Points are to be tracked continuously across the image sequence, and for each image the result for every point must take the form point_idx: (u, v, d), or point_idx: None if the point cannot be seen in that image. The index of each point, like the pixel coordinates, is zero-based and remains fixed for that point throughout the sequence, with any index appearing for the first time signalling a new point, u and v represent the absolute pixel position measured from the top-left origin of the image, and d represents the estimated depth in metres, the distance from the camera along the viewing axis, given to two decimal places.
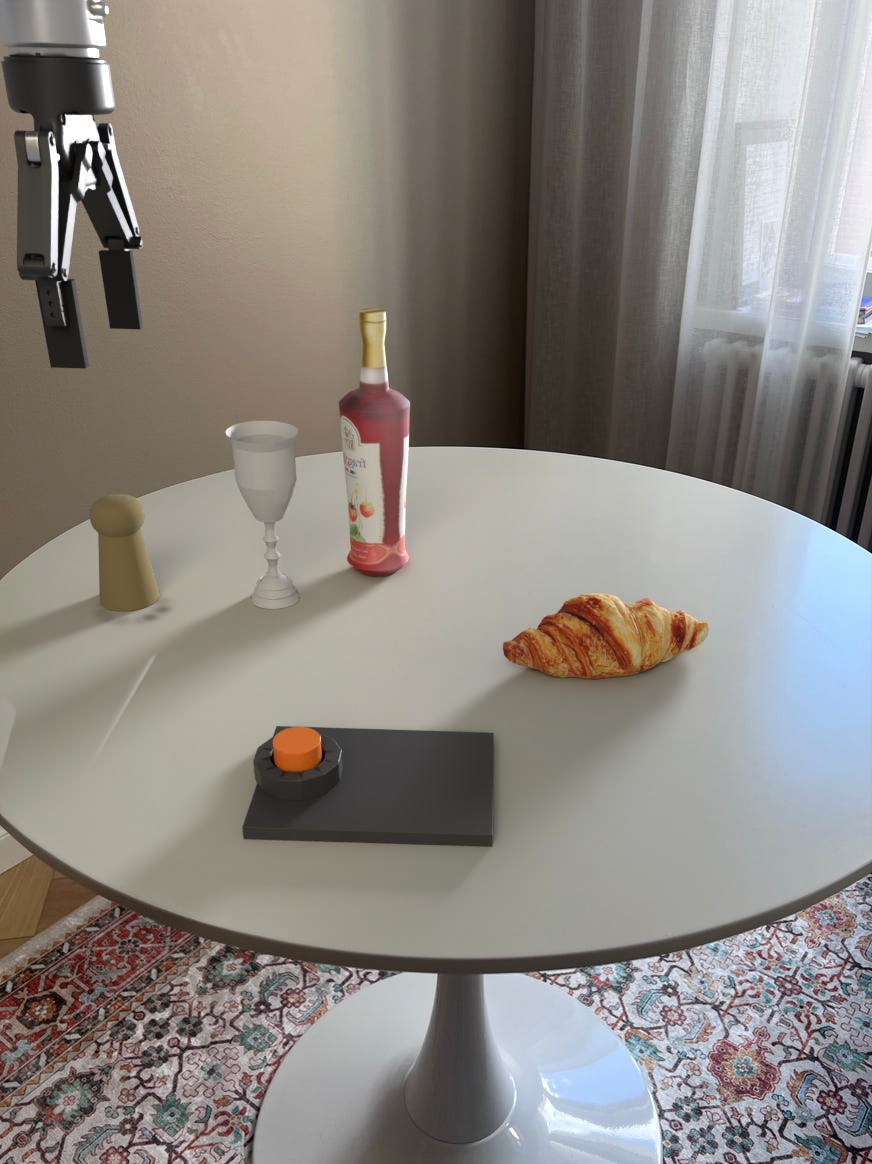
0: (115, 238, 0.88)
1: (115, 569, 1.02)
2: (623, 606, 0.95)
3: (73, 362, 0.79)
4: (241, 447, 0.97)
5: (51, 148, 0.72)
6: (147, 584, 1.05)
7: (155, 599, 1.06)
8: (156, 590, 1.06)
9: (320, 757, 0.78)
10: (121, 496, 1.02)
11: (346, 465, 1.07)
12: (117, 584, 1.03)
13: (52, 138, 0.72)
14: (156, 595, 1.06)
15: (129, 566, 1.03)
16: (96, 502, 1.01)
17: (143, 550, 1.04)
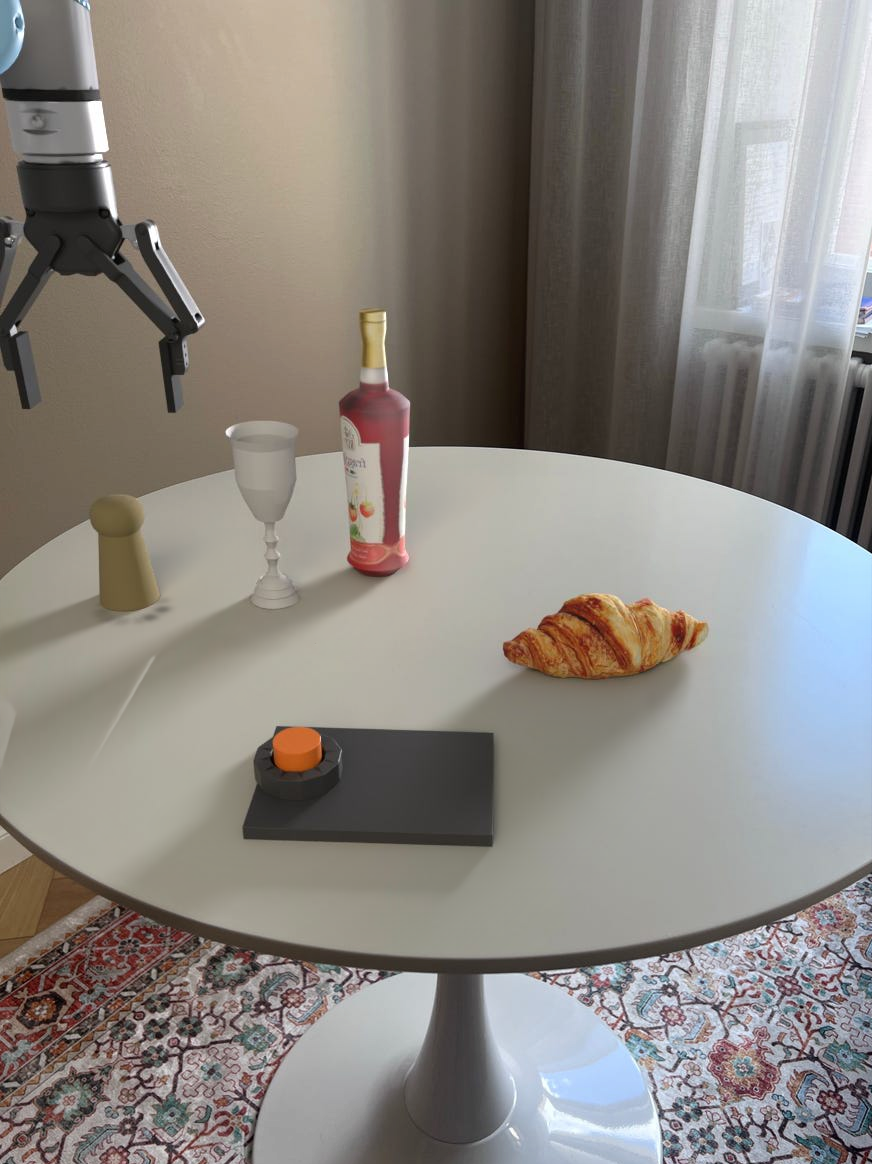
0: None
1: (115, 569, 1.02)
2: (623, 606, 0.95)
3: None
4: (241, 447, 0.97)
5: None
6: (147, 584, 1.05)
7: (155, 599, 1.06)
8: (156, 590, 1.06)
9: (320, 757, 0.78)
10: (121, 496, 1.02)
11: (346, 465, 1.07)
12: (117, 584, 1.03)
13: None
14: (156, 595, 1.06)
15: (129, 566, 1.03)
16: (96, 502, 1.01)
17: (143, 550, 1.04)
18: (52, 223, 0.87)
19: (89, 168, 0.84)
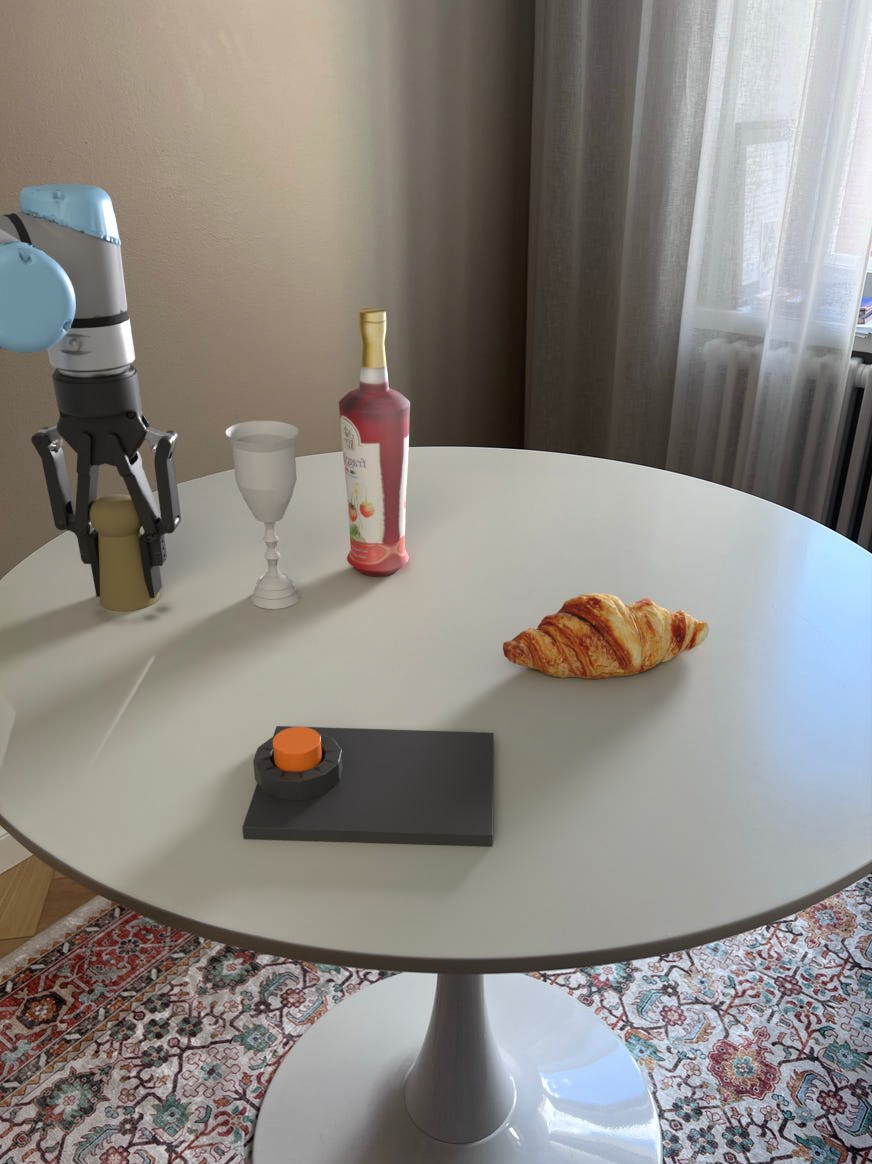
0: None
1: (116, 569, 1.02)
2: (623, 606, 0.95)
3: None
4: (241, 447, 0.97)
5: (38, 446, 0.97)
6: None
7: (155, 599, 1.06)
8: None
9: (320, 757, 0.78)
10: (121, 496, 1.02)
11: (346, 465, 1.07)
12: (117, 584, 1.03)
13: (35, 440, 0.97)
14: (156, 595, 1.06)
15: (129, 566, 1.03)
16: (96, 502, 1.01)
17: None
18: (83, 422, 0.96)
19: (118, 380, 0.93)
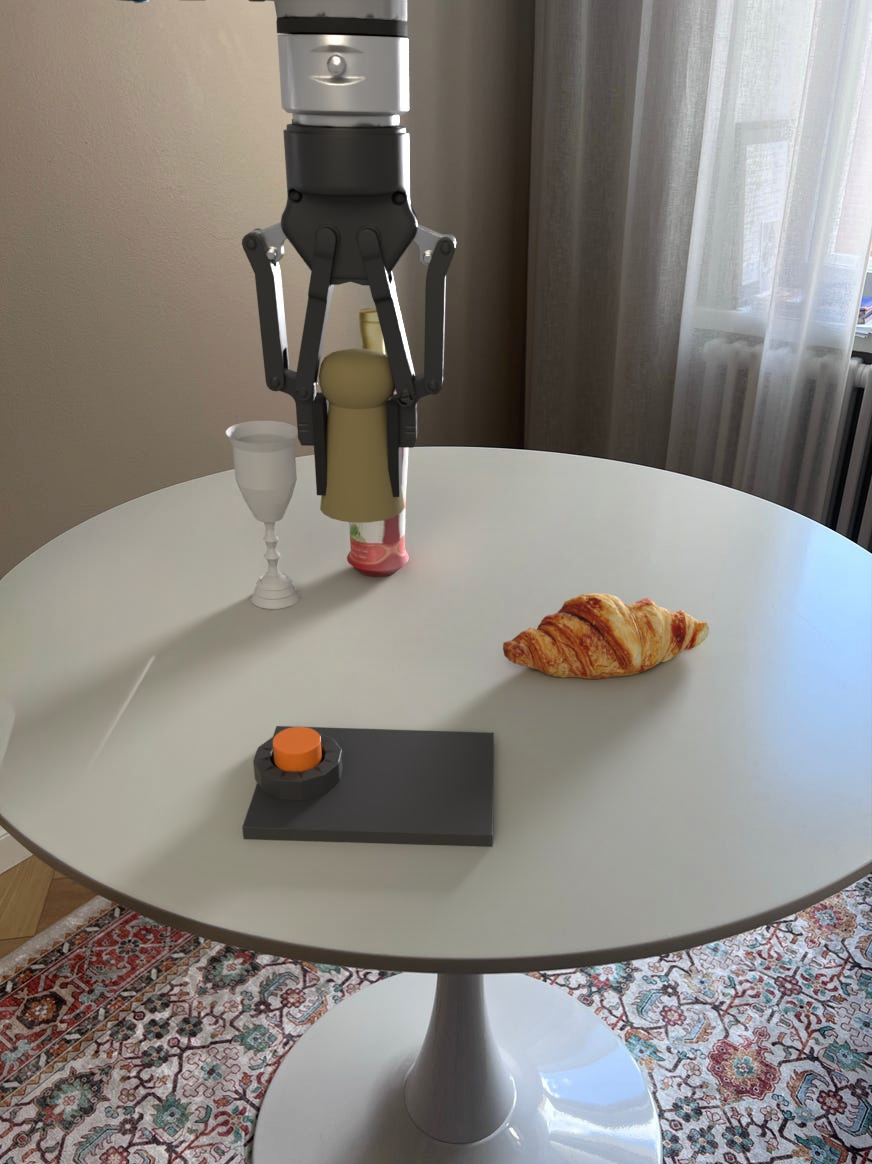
0: None
1: (356, 459, 0.69)
2: (623, 606, 0.95)
3: None
4: (241, 447, 0.97)
5: (252, 252, 0.64)
6: None
7: (401, 507, 0.73)
8: (402, 494, 0.73)
9: (320, 757, 0.78)
10: (364, 349, 0.69)
11: None
12: (356, 482, 0.70)
13: (248, 242, 0.63)
14: (402, 502, 0.73)
15: (375, 454, 0.69)
16: (331, 356, 0.68)
17: None
18: (324, 212, 0.63)
19: (391, 134, 0.59)
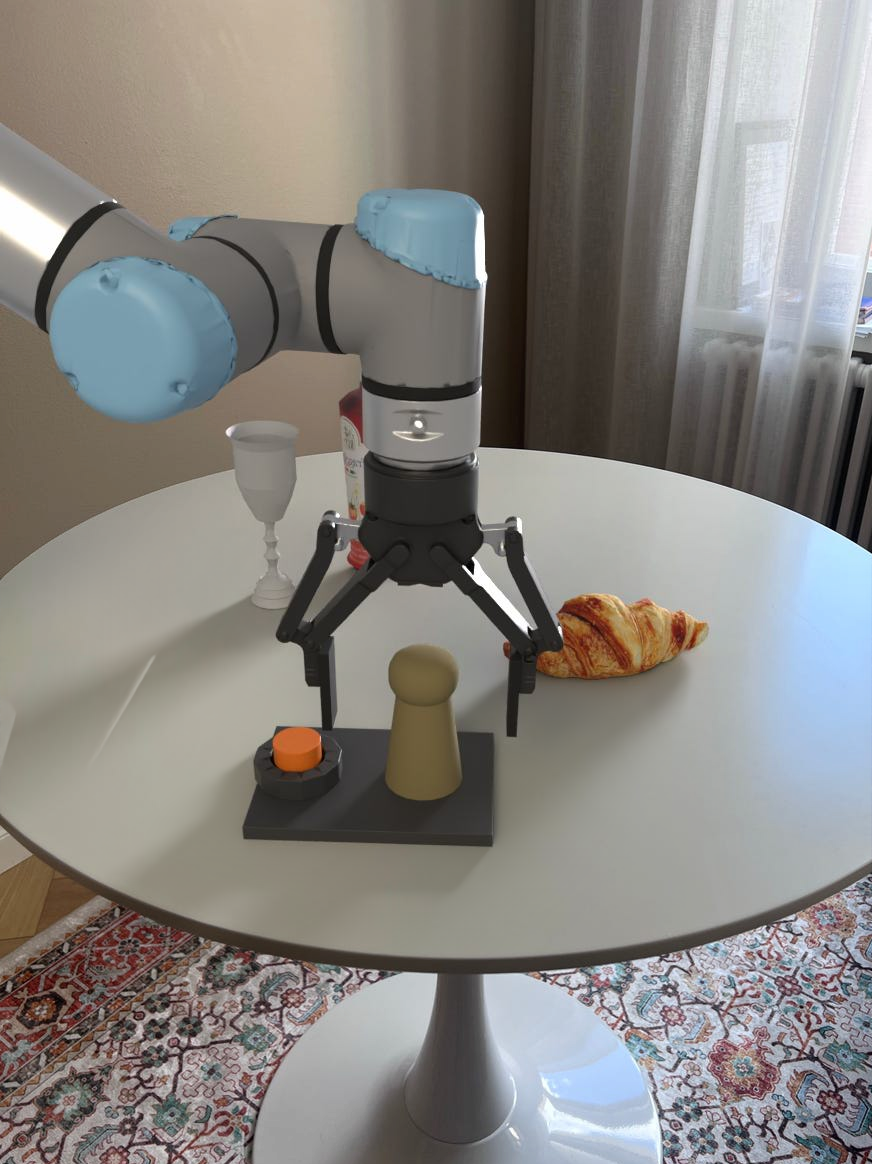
0: None
1: (421, 748, 0.75)
2: (623, 606, 0.95)
3: None
4: (241, 447, 0.97)
5: (322, 538, 0.68)
6: (455, 763, 0.77)
7: (460, 779, 0.78)
8: None
9: (320, 757, 0.78)
10: (430, 648, 0.74)
11: (346, 465, 1.07)
12: (420, 766, 0.75)
13: (324, 530, 0.68)
14: (461, 774, 0.79)
15: (438, 742, 0.75)
16: (400, 659, 0.73)
17: (453, 718, 0.76)
18: (399, 528, 0.68)
19: (464, 472, 0.65)
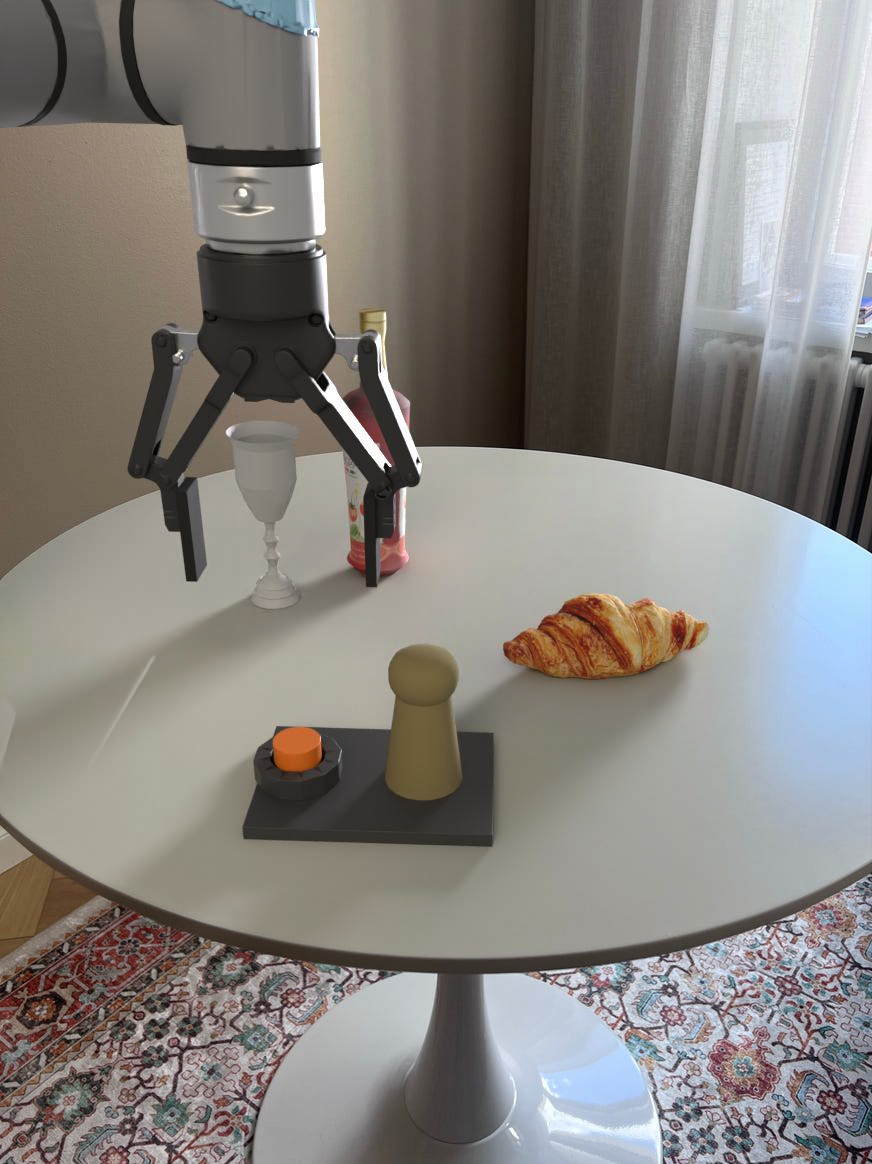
0: None
1: (421, 748, 0.75)
2: (623, 606, 0.95)
3: None
4: (241, 447, 0.97)
5: (158, 349, 0.62)
6: (455, 763, 0.77)
7: (460, 779, 0.78)
8: None
9: (320, 757, 0.78)
10: (430, 648, 0.74)
11: (346, 465, 1.07)
12: (420, 766, 0.75)
13: (158, 339, 0.62)
14: (461, 774, 0.79)
15: (438, 742, 0.75)
16: (400, 659, 0.73)
17: (453, 718, 0.76)
18: (240, 332, 0.62)
19: (304, 260, 0.58)
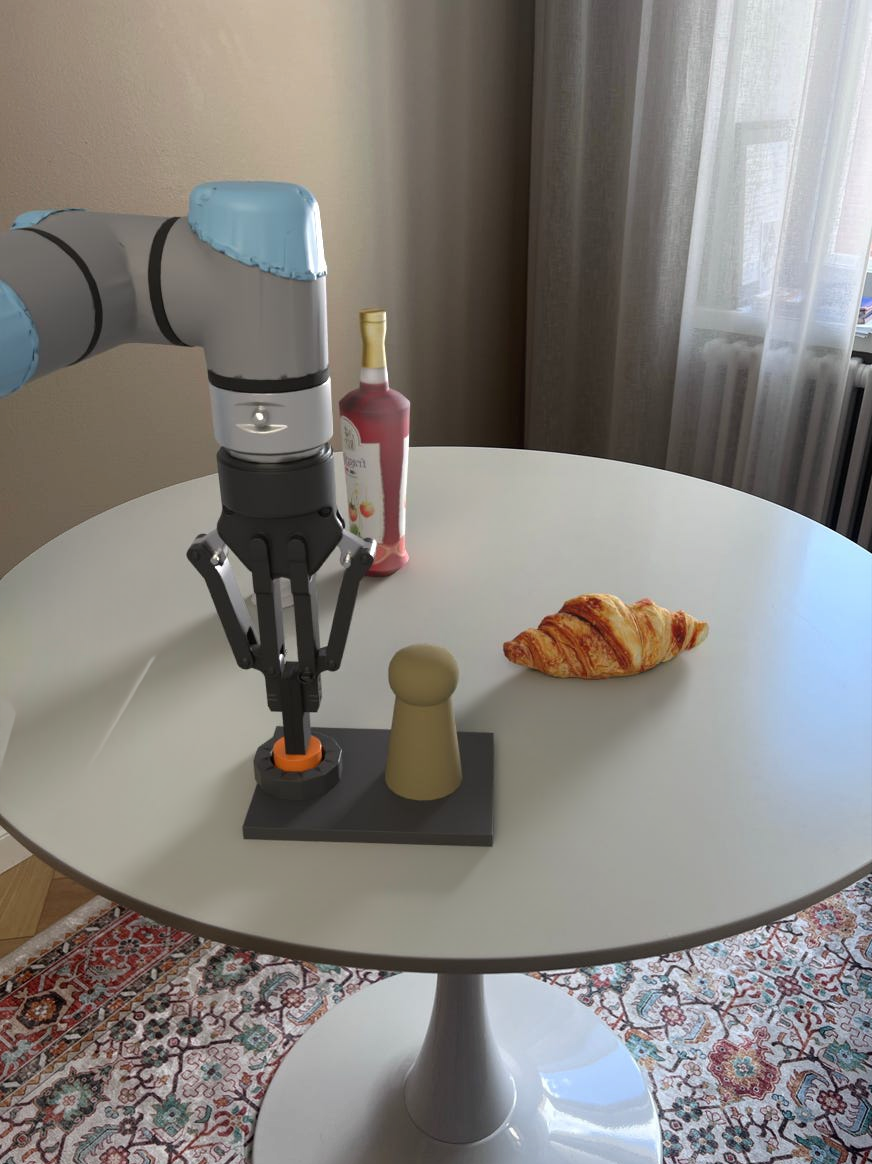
0: None
1: (421, 748, 0.75)
2: (623, 606, 0.95)
3: None
4: None
5: (197, 562, 0.69)
6: (455, 763, 0.77)
7: (460, 779, 0.78)
8: None
9: None
10: (430, 648, 0.74)
11: (346, 465, 1.07)
12: (420, 766, 0.75)
13: (191, 555, 0.69)
14: (461, 774, 0.79)
15: (438, 742, 0.75)
16: (400, 659, 0.73)
17: (453, 718, 0.76)
18: (256, 522, 0.68)
19: (314, 465, 0.64)
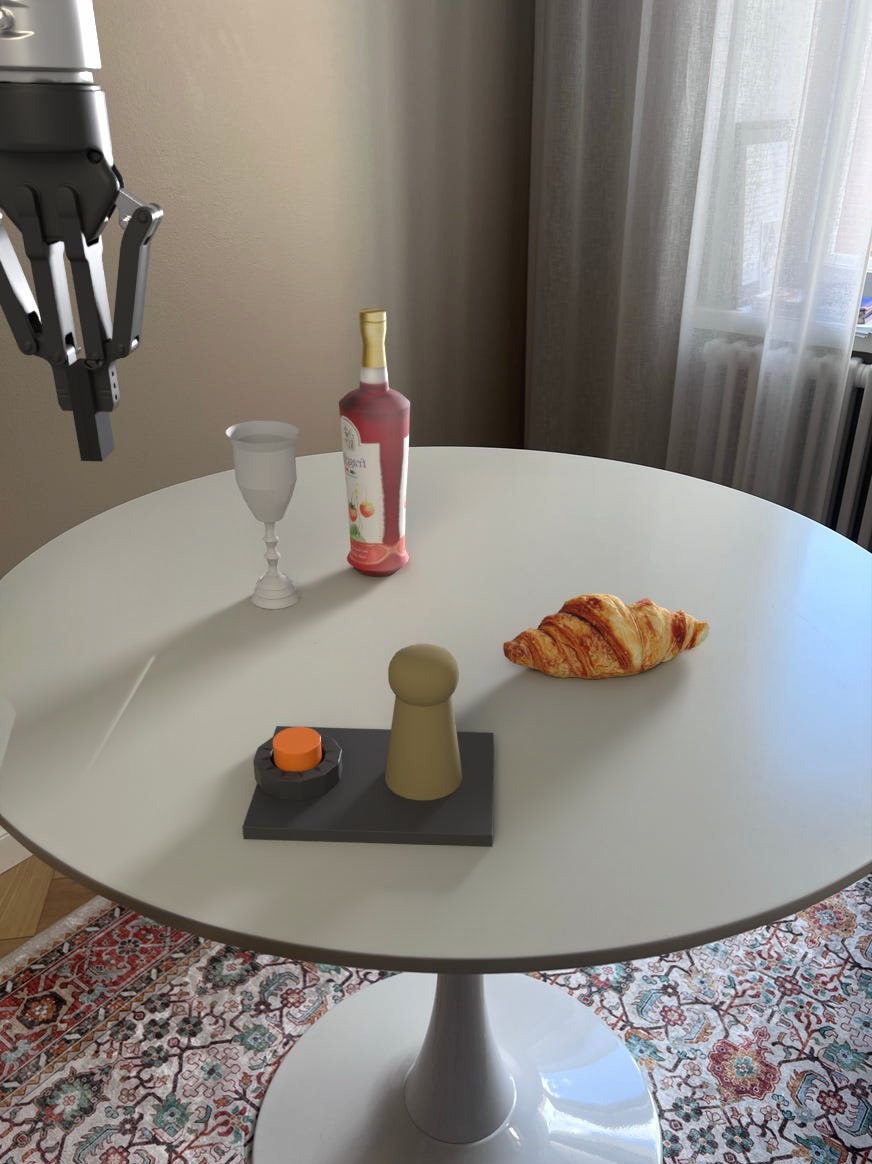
0: None
1: (421, 748, 0.75)
2: (623, 606, 0.95)
3: None
4: (241, 447, 0.97)
5: None
6: (455, 763, 0.77)
7: (460, 779, 0.78)
8: None
9: (320, 757, 0.78)
10: (430, 648, 0.74)
11: (346, 465, 1.07)
12: (420, 766, 0.75)
13: None
14: (461, 774, 0.79)
15: (438, 742, 0.75)
16: (400, 659, 0.73)
17: (453, 718, 0.76)
18: (22, 170, 0.63)
19: (73, 90, 0.60)
